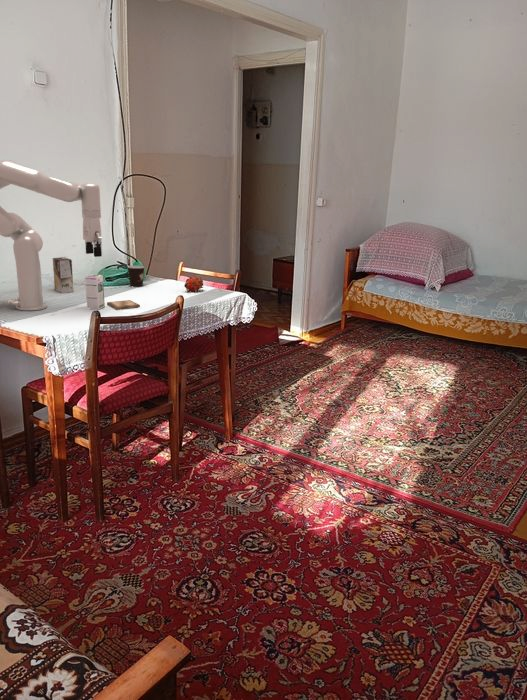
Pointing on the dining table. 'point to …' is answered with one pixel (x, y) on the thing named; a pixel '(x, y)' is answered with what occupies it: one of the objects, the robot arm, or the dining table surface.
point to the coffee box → (63, 274)
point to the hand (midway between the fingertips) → (93, 255)
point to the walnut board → (123, 304)
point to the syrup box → (94, 291)
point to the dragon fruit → (193, 284)
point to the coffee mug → (135, 275)
